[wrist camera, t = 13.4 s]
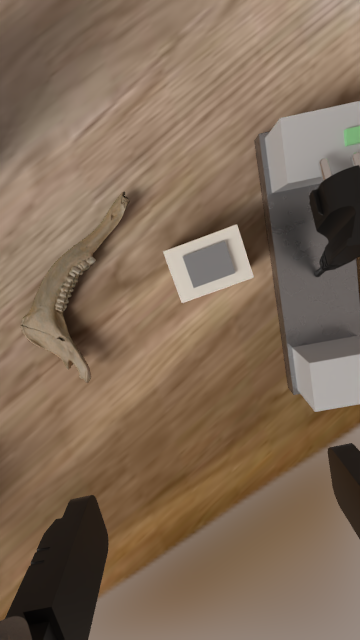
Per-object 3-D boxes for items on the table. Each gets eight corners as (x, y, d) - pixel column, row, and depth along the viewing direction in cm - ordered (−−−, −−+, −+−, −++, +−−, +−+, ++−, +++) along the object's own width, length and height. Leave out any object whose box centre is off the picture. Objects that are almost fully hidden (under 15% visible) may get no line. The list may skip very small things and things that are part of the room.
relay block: (166, 251, 36) (162, 251, 29) (228, 228, 35) (237, 223, 29) (182, 294, 37) (181, 303, 30) (242, 272, 36) (254, 277, 30)
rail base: (254, 140, 33) (258, 133, 31) (334, 123, 33) (344, 115, 31) (288, 387, 39) (293, 394, 37) (356, 375, 38) (366, 382, 36)
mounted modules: (264, 138, 31) (281, 116, 26) (339, 122, 31) (371, 96, 26) (297, 389, 37) (316, 413, 31) (361, 378, 36) (391, 400, 31)
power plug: (291, 286, 34) (340, 234, 22) (276, 218, 35) (314, 136, 23) (347, 277, 34) (426, 220, 22) (329, 209, 35) (395, 122, 23)
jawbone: (22, 357, 39) (11, 362, 37) (51, 175, 35) (40, 170, 33) (95, 378, 38) (87, 384, 36) (133, 195, 34) (127, 190, 32)
